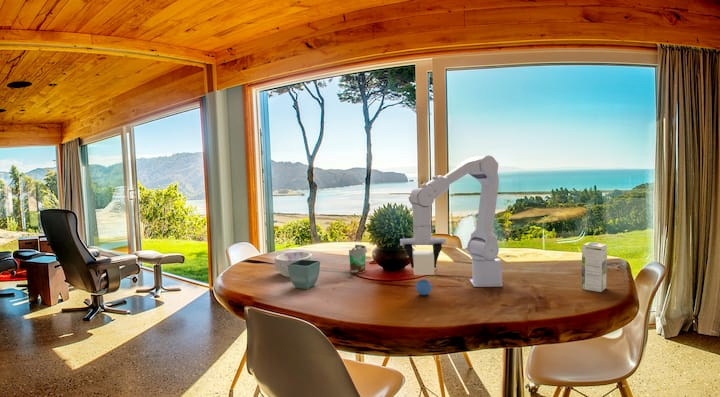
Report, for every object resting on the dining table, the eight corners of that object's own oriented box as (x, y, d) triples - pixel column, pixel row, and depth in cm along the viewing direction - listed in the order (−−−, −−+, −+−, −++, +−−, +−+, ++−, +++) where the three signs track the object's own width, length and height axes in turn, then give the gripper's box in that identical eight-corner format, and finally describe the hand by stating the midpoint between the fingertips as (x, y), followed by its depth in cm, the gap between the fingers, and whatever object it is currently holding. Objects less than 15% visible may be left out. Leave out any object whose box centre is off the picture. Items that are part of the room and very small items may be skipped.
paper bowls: (276, 281, 146) (274, 260, 146) (275, 271, 161) (274, 253, 160) (315, 277, 150) (314, 257, 149) (311, 268, 164) (310, 250, 164)
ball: (432, 292, 118) (431, 297, 122) (431, 277, 121) (430, 282, 125) (416, 292, 119) (416, 297, 123) (415, 277, 121) (415, 282, 125)
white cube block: (432, 269, 125) (432, 250, 125) (434, 274, 119) (433, 254, 118) (413, 269, 126) (412, 250, 125) (414, 275, 120) (413, 255, 119)
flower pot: (322, 284, 139) (320, 260, 138) (309, 291, 131) (307, 266, 130) (301, 282, 142) (300, 259, 142) (288, 289, 134) (286, 264, 134)
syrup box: (586, 285, 125) (586, 241, 124) (607, 288, 120) (607, 243, 120) (581, 289, 121) (581, 244, 120) (602, 292, 116) (602, 246, 116)
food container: (365, 275, 149) (363, 250, 148) (349, 275, 150) (348, 250, 149) (370, 267, 161) (369, 244, 160) (356, 267, 162) (355, 244, 161)
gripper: (399, 227, 118) (401, 270, 119) (446, 226, 116) (447, 269, 117) (399, 224, 125) (400, 265, 126) (444, 223, 123) (445, 264, 124)
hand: (423, 267), depth 122 cm, fingers closed on white cube block, 6 cm apart
